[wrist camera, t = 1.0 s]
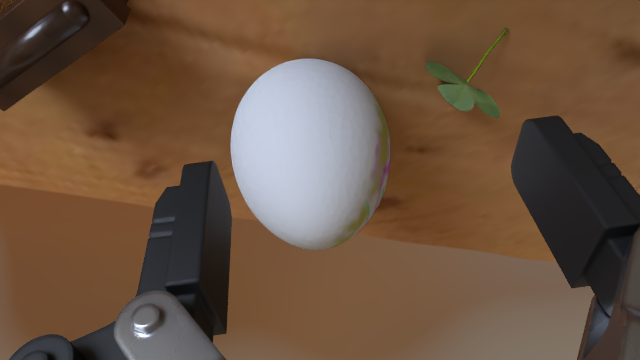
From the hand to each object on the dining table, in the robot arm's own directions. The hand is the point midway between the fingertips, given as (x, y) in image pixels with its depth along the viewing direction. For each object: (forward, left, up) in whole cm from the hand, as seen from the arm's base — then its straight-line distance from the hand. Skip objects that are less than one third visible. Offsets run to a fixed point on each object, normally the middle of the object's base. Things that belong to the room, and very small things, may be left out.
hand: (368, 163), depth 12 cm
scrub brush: (-3, -19, -24) cm, 31 cm away
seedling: (+18, +5, -24) cm, 31 cm away
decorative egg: (+13, -8, -24) cm, 29 cm away
